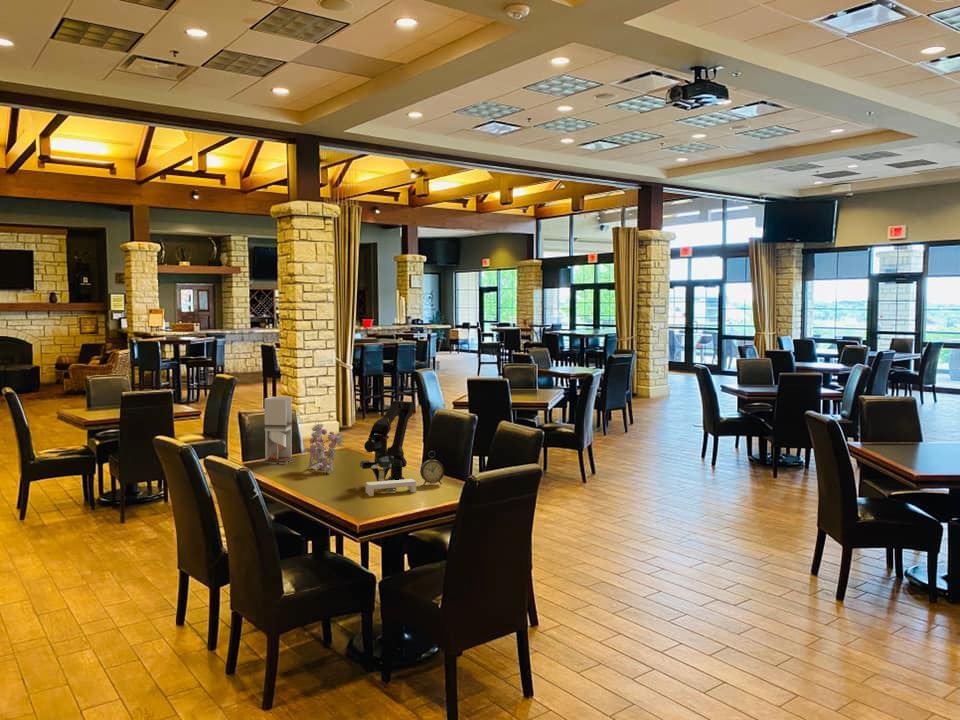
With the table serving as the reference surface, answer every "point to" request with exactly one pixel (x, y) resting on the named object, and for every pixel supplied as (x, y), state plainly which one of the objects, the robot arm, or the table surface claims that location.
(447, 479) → the table surface
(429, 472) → the alarm clock
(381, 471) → the birch pusher
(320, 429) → the flower
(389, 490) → the steel disc
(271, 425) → the grey dispenser
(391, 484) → the cream bench
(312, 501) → the table surface
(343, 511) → the table surface
